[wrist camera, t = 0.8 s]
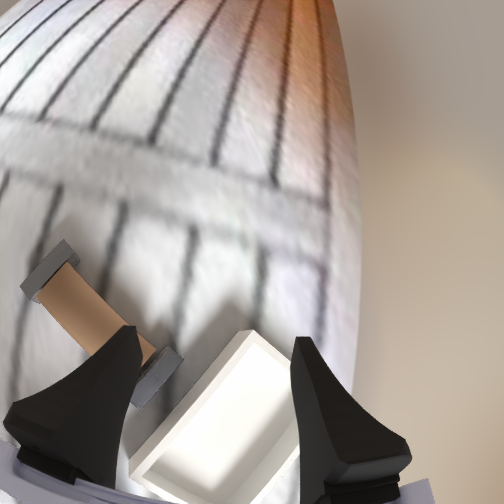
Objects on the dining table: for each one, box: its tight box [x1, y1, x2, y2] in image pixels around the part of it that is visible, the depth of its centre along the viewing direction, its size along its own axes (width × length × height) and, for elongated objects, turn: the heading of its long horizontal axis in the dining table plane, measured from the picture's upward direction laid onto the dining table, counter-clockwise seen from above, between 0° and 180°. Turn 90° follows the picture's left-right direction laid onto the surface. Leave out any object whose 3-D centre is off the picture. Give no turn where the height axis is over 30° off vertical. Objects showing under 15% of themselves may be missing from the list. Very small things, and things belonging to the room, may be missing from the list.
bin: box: [129, 330, 300, 504], centre depth 24 cm, size 18×12×4 cm, turn 140°
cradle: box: [20, 239, 184, 410], centre depth 23 cm, size 6×15×3 cm, turn 50°
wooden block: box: [36, 262, 156, 367], centre depth 22 cm, size 4×10×5 cm, turn 51°
